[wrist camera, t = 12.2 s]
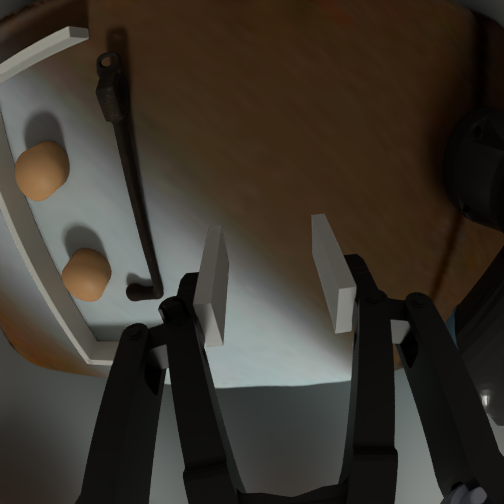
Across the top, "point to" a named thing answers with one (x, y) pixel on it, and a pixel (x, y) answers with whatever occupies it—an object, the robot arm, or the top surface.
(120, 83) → the black hooked stick
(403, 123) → the top surface
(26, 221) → the chip tray
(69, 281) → the puck
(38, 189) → the puck
